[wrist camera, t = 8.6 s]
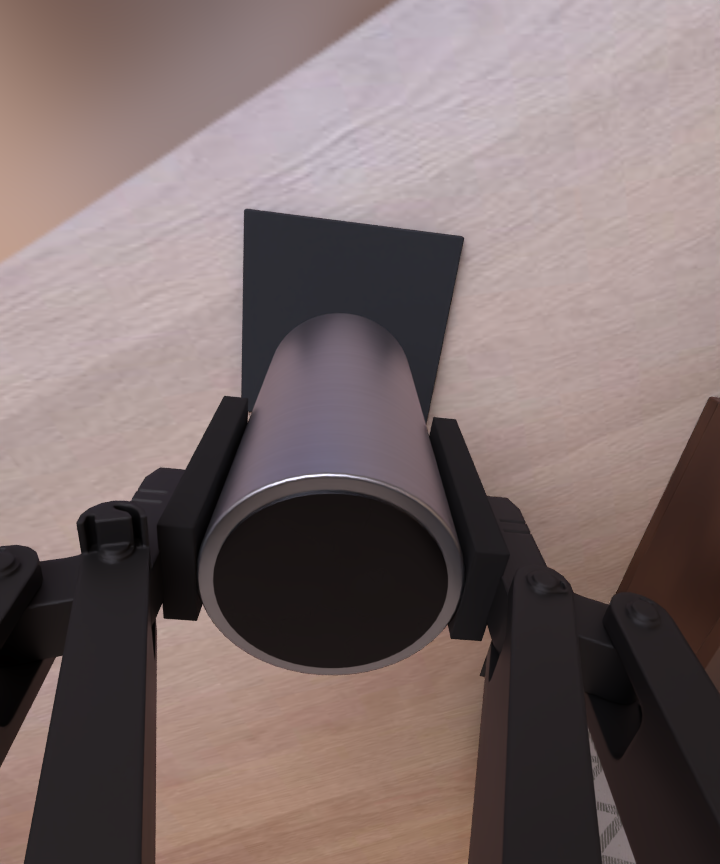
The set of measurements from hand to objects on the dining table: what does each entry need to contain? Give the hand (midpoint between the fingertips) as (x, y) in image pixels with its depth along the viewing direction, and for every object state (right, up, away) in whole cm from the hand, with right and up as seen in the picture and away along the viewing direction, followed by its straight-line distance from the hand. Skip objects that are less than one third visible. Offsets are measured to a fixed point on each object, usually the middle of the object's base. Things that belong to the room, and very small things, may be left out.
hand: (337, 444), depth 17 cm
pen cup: (0, +3, +5) cm, 6 cm away
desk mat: (0, +6, +11) cm, 13 cm away
